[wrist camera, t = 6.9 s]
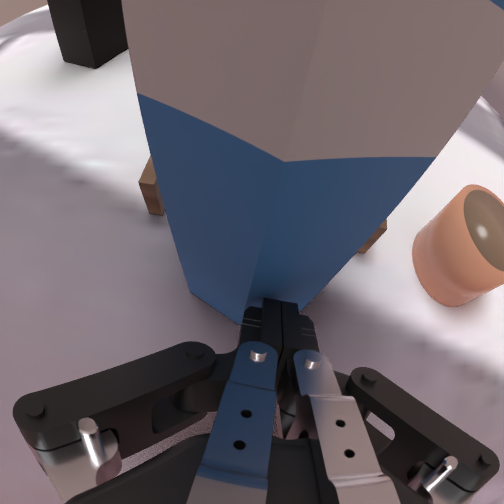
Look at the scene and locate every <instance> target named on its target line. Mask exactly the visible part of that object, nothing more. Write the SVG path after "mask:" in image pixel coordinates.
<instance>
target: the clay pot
mask: <svg viewBox="0 0 504 504" xmlns="http://www.w3.org/2000/svg"><path fill="white" fill-rule="evenodd" d="M412 257H413V264H414V268H415V272H416V274H417V277H418V279H419V281H420V283H421V285H422V286H423V288H424V289H425V290H426V292H427V293H428V294H429V295H430V296H431V297H432V298H433V299H434V300H436V301H437V302H439V303H440V304H442V305H445V306H448V307H458V306H461V305H463V304H465V303H467V302H469V301H471V300H473V299H475V298H477V297H479V296H481V295H483V294H485V293H487V292H489V291H491V290H493V289H495V288H496V287H498V286H500V285H502V284H504V203H503V202H502V201H501V200H500V199H499V198H498V197H497V196H496V195H495V194H494V193H492V192H491V191H490V190H488V189H486V188H484V187H482V186H479V185H468V186H466V187H464V188H463V189H462V190H461V191H460V192H459V193H458V194H457V195H456V196H455V197H454V198H453V199H452V200H451V201H450V202H449V203H448V204H447V205H446V206H445V207H444V208H443V209H442V210H441V211H440V212H439V213H438V214H437V215H436V216H435V217H434V218H433V219H432V220H431V221H430V222H429V223H428V224H427V225H426V226H425V227H424V228H423V229H422V230H421V231H420V232H419V233H418V234H417V236H416V237H415V240H414V243H413V249H412Z"/></svg>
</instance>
